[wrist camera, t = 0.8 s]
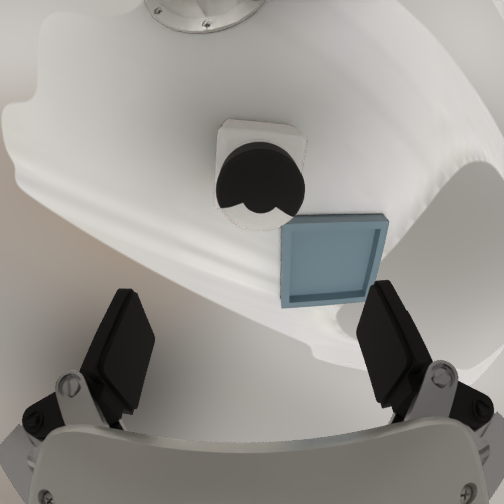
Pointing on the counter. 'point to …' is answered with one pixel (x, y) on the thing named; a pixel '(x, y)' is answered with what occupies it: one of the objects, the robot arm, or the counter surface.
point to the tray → (330, 258)
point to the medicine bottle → (259, 173)
